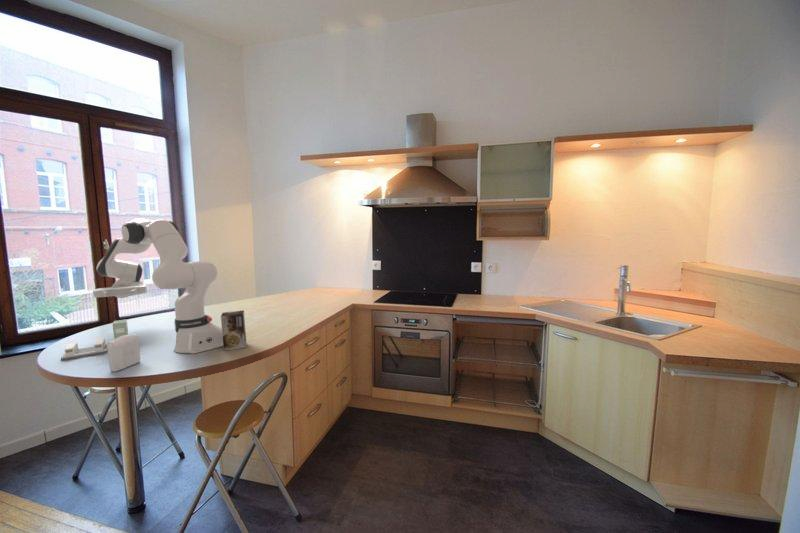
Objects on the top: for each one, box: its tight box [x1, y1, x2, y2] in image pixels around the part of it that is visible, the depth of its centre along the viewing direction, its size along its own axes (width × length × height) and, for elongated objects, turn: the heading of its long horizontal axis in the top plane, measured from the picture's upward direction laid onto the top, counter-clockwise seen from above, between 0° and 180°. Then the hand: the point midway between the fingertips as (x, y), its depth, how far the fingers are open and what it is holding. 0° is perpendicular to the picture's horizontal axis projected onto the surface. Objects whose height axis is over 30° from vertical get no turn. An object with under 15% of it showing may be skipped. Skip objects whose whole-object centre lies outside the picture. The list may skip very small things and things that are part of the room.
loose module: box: [112, 318, 130, 340], centre depth 147 cm, size 4×6×12 cm
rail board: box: [60, 337, 108, 362], centre depth 141 cm, size 14×11×4 cm
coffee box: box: [220, 310, 248, 352], centre depth 146 cm, size 9×6×16 cm
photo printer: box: [106, 334, 141, 373], centre depth 126 cm, size 10×4×12 cm, turn 170°
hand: (119, 293), depth 155 cm, fingers open, 8 cm apart
